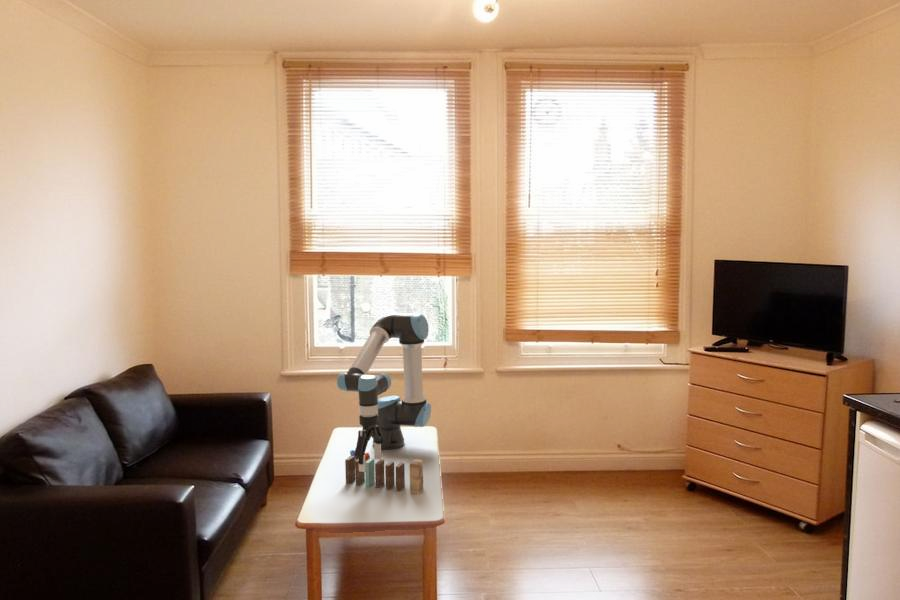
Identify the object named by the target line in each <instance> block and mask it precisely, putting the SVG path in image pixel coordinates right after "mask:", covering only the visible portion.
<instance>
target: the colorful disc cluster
mask: <svg viewBox="0 0 900 600" xmlns="http://www.w3.org/2000/svg"><path fill="white" fill-rule="evenodd" d="M355 451H356V448H355V449H354V450H353V449H352V450H350V451H349V455H350V456H355ZM350 456H348V458H349V457H350ZM364 456H365V462H366V461H368V460H369V459H370V458H371V456H370V453H369V452H365V454H364ZM357 459H358V456H355V461H356V460H357Z"/></svg>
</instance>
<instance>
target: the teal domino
mask: <svg viewBox="0 0 900 600" xmlns="http://www.w3.org/2000/svg"><path fill="white" fill-rule="evenodd" d="M364 482H365V487H367V488H370V487H371V486H372V485H374V483H375V458H371V457H370V459H369V460H368V461H366V472H365V481H364Z"/></svg>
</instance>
